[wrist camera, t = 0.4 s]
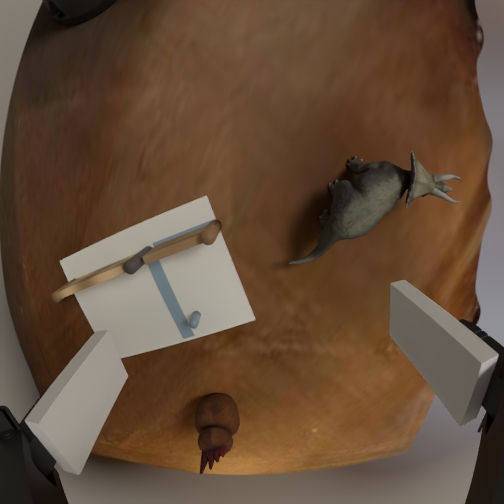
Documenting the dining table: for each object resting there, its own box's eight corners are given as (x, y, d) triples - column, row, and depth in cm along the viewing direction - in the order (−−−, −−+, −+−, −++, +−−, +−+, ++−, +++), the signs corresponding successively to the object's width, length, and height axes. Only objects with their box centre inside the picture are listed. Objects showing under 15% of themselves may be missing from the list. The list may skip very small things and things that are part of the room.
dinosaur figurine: (288, 263, 39) (304, 295, 28) (257, 206, 37) (262, 219, 26) (419, 189, 37) (469, 196, 26) (396, 134, 35) (443, 125, 24)
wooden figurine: (203, 413, 46) (193, 481, 31) (195, 390, 44) (181, 460, 30) (242, 410, 46) (241, 480, 31) (236, 386, 44) (233, 458, 30)
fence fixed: (142, 247, 38) (121, 263, 31) (218, 217, 38) (212, 227, 30) (147, 258, 39) (127, 276, 31) (223, 229, 38) (218, 242, 31)
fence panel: (136, 251, 38) (118, 264, 32) (140, 261, 38) (123, 275, 32) (70, 279, 38) (49, 294, 33) (74, 288, 39) (54, 303, 33)
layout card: (60, 260, 39) (48, 266, 35) (207, 195, 37) (203, 197, 34) (112, 359, 43) (104, 370, 40) (255, 318, 41) (256, 330, 38)
